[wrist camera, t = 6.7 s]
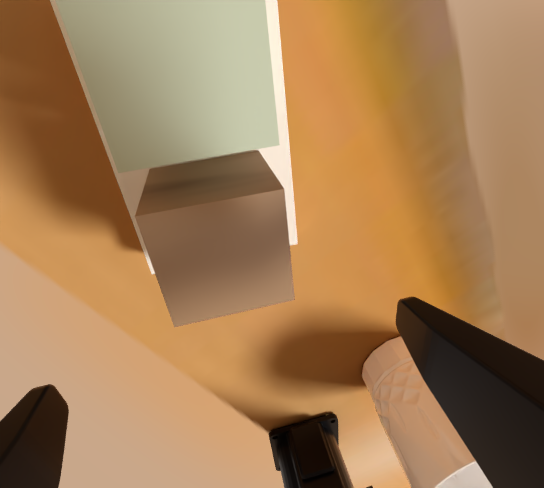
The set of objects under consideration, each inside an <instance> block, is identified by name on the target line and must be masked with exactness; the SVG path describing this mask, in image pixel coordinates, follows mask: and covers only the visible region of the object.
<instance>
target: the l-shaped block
mask: <svg viewBox="0 0 544 488" xmlns="http://www.w3.org/2000/svg"><path fill="white" fill-rule="evenodd" d="M50 2H51V5H52V7H53V10H54V13H55V15H56V18H57V21H58V23H59V26H60V29H61V32H62V34H63V37H64V40H65V42H66V45H67V48H68V50H69V53H70V56H71V58H72V61H73V64H74V66H75V69H76V72H77V74H78V77H79V80H80V83H81V85H82V88H83V91H84V93H85V96H86V99H87V101H88V104H89V107H90V109H91V112H92V115H93V117H94V120H95V123H96V126H97V128H98V131H99V134H100V136H101V139H102V142H103V144H104V147H105V150H106V152H107V155H108V158H109V160H110V163H111V166H112V168H113V171H114V174H115V177H116V179H117V182H118V185H119V187H120V190H121V193H122V195H123V198H124V201H125V203H126V206H127V209H128V211H129V214H130V217H131V219H132V222H133V225H134V228H135V230H136V233H137V236H138V238H139V241H140V244H141V246H142V249H143V252H144V254H145V257H146V260H147V262H148V265H149V268H150V270H151V273H152V274H155V272H154V269H153V266H152V263H151V261H150V258H149V255H148V252H147V249H146V247H145V244H144V241H143V238H142V235H141V233H140V230H139V227H138V224H137V222H136V219H135V214H136V211H137V208H138V204H139V201H140V198H141V195H142V192H143V188H144V185H145V182H146V179H147V176H148V173H149V169H152V168H158V167H164V166H170V165H176V164H182V163H188V162H194V161H200V160H206V159H212V158H218V157H224V156H230V155H235V154H241V153H247V152H253V151H259V152H260V153H261V155H262V156H263V158H264V159H265V161H266V162H267V164H268V165H269V167H270V168H271V170H272V171H273V173H274V174H275V176H276V177H277V179H278V180H279V182H280V183H281V185H282V186H283V188H284V191H285V202H286V212H287V223H288V234H289V244H290V245H294V244H298V242H297V231H296V219H295V207H294V195H293V183H292V171H291V159H290V147H289V135H288V124H287V112H286V100H285V88H284V76H283V64H282V52H281V40H280V28H279V17H278V5H277V0H50Z"/></svg>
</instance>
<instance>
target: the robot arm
mask: <svg viewBox="0 0 544 488" xmlns="http://www.w3.org/2000/svg"><path fill="white" fill-rule="evenodd" d="M396 326H397V329H398V331H399V333H400V335H401V337H402V339H403V341H404V343H405V345H406V347H407V349H408V351H409V353H410V355H411V357H412V359H413V361H414V363H415V365H416V367H417V369H418V371H419V372H420V374H421V376H422V378H423V380H424V381H425V383H426V385H427V386H428V388H429V389H430V391H431V393H432V394H433V396H434V397H435V399H436V400H437V402H438V403H439V405H440V406H441V408H442V410H443V411H444V413H445V414H446V416H447V417H448V419H449V420H450V422H451V423H452V425H453V427H454V428H455V430H456V431H457V433H458V434H459V436H460V437H461V439H462V440H463V442H464V444H465V445H466V447H467V448H468V450H469V451H470V453H471V454H472V456H473V457H474V459H475V461H476V462H477V464H478V465H479V467H480V468H481V470H482V471H483V473H484V475H485V476H486V478H487V479H488V481H489V482H490V484H491V485H492V487H493V488H544V360H542V359H540V358H538V357H536V356H534V355H532V354H530V353H528V352H525V351H524V350H522V349H519V348H517V347H515V346H513V345H511V344H509V343H507V342H505V341H503V340H501V339H499V338H497V337H495V336H493V335H491V334H489V333H487V332H485V331H483V330H481V329H479V328H477V327H475V326H473V325H471V324H469V323H467V322H465V321H463V320H461V319H459V318H457V317H455V316H453V315H451V314H449V313H447V312H445V311H443V310H441V309H438V308H436V307H434V306H432V305H430V304H428V303H426V302H424V301H422V300H420V299H418V298H416V297H408V298H404V299H400V300H399V301H398V305H397V314H396ZM68 411H69V410H68V405H67V403H66V401H65V400H64V399H63V397H62V396H61V394H60V393H59V392H58V390H57V389H56V388H55V386H53V385H51V384H48V385H44V386H40V387H36V388H33V389H32V390H30V391H29V392H28V393H27V394H26V395H25V396H24V397H23V398H22V399H21V400H20V401H19V402H18V404H17V405H16V406H15V407H14V408H13V409H12V410H11V411H10V412H9V413H8V414H7V415H6V416H5V417H4V418H3V419H2V420H1V421H0V488H58V486H59V481H60V476H61V469H62V461H63V454H64V446H65V438H66V429H67V422H68V413H69V412H68ZM269 438H270V443H271V447H272V452H273V457H274V462H275V467H276V470H277V471H281V474H282V478H283V483H284V488H354V487H353V484H352V482H351V479H350V476H349V474H348V471H347V468H346V466H345V463H344V460H343V458H342V455H341V452H340V450H339V447H338V419H337V416H336V415H335V414H330V415H327V416H323V417H320V418H316V419H312V420H309V421H305V422H302V423H298V424H294V425H291V426H287V427H284V428H280V429H277V430H273V431H271V432H270V433H269ZM366 488H373V487H372V486H369V487H366Z"/></svg>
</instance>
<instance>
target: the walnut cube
mask: <svg viewBox="0 0 544 488" xmlns="http://www.w3.org/2000/svg"><path fill="white" fill-rule="evenodd" d="M135 219H136V222H137V224H138V227H139V230H140V233H141V235H142V238H143V241H144V244H145V247H146V249H147V252H148V255H149V258H150V261H151V263H152V266H153V269H154V272H155V274H156V277H157V280H158V283H159V286H160V288H161V291H162V294H163V297H164V299H165V302H166V305H167V308H168V311H169V313H170V316H171V319H172V322H173V325H174V327H178V326H182V325H187V324H191V323H196V322H200V321H204V320H209V319H213V318H217V317H222V316H226V315H231V314H235V313H239V312H244V311H248V310H253V309H257V308H261V307H266V306H270V305H274V304H279V303H283V302H288V301H292V300H295V298H294V287H293V276H292V266H291V255H290V244H289V234H288V223H287V212H286V202H285V191H284V188H283V186H282V185H281V183H280V182H279V180H278V179H277V177H276V176H275V174H274V173H273V171H272V170H271V168H270V167H269V165H268V164H267V162H266V161H265V159H264V158H263V156H262V155H261V153H260V152H259V151H253V152H247V153H241V154H235V155H230V156H224V157H218V158H212V159H206V160H200V161H194V162H188V163H182V164H176V165H170V166H164V167H158V168H152V169H149V173H148V176H147V179H146V182H145V185H144V188H143V192H142V195H141V198H140V201H139V204H138V208H137V211H136V214H135Z"/></svg>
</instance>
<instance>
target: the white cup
mask: <svg viewBox="0 0 544 488" xmlns="http://www.w3.org/2000/svg"><path fill="white" fill-rule="evenodd" d="M362 378H363V380H364V382H365V384H366V386H367V388H368V391H369V393H370V395H371V397H372V399H373V402H374V404H375V409H376V411H377V413H378V415H379V418H380V421H381V423H382V425H383V428H384V430H385V432H386V435H387V437H388V439H389V441H390V443H391V445H392V448H393V450H394V452H395V454H396V456H397V458H398V461H399V463H400V465H401V467H402V469H403V471H404V474H405V476H406V478H407V480H408V482H409V484H410V487H411V488H493V487H492V485H491V484H490V482H489V481H488V479H487V478H486V476H485V475H484V473H483V471H482V470H481V468H480V467H479V465H478V464H477V462H476V461H475V459H474V457H473V456H472V454H471V453H470V451H469V450H468V448H467V447H466V445H465V444H464V442H463V440H462V439H461V437H460V436H459V434H458V433H457V431H456V430H455V428H454V427H453V425H452V423H451V422H450V420H449V419H448V417H447V416H446V414H445V413H444V411H443V410H442V408H441V406H440V405H439V403H438V402H437V400H436V399H435V397H434V396H433V394H432V393H431V391H430V389H429V388H428V386H427V385H426V383H425V381H424V380H423V378H422V376H421V374H420V372H419V371H418V369H417V367H416V365H415V363H414V361H413V359H412V357H411V355H410V353H409V351H408V349H407V347H406V345H405V343H404V341H403V339H402V337H401V336H400V337H397V338H394V339H391V340H388V341H386V342H385V343H384V344H382V345H381V346H379V347H378V348H377V349H375V350H374V351H373V352H372V353H371V354H370V356H369V357H368V358H367V360H366V361H365V363H364V365H363V371H362Z"/></svg>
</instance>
